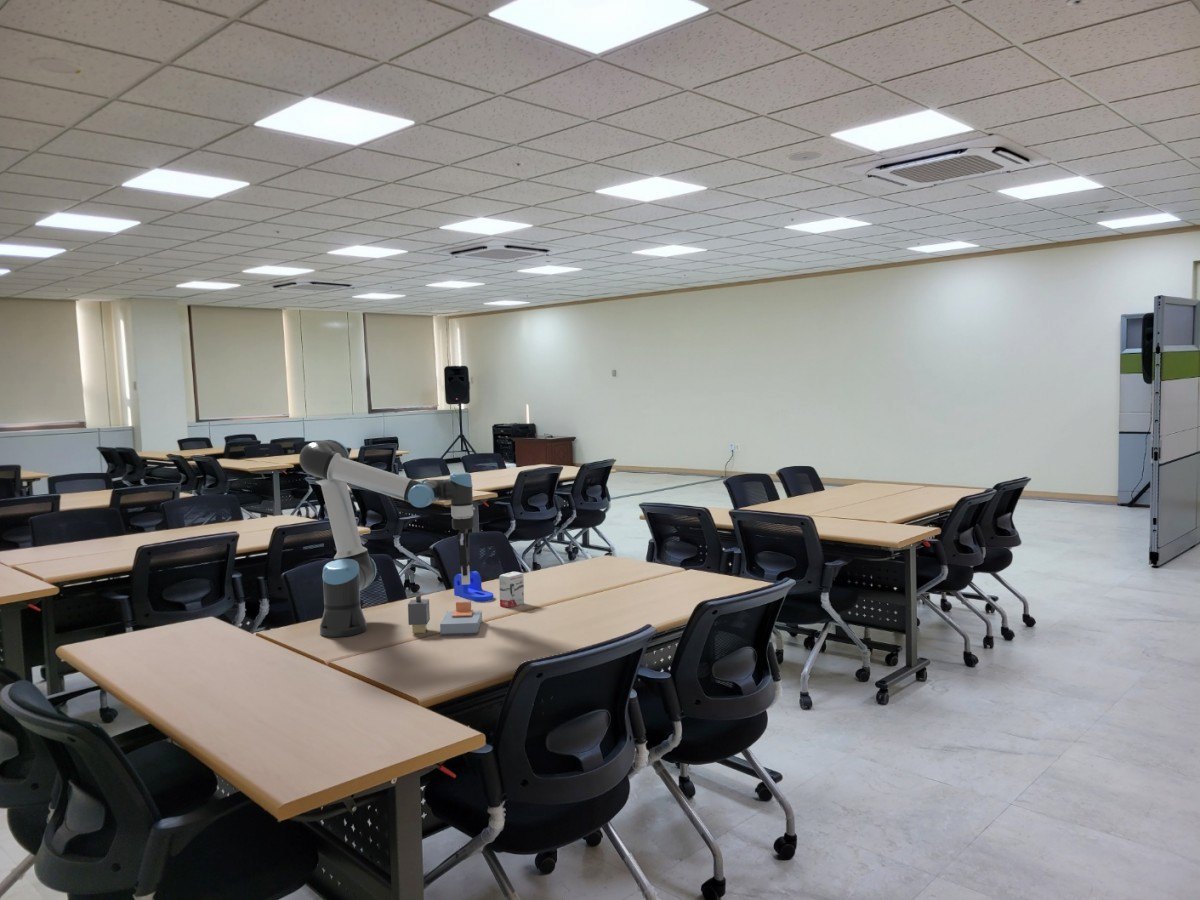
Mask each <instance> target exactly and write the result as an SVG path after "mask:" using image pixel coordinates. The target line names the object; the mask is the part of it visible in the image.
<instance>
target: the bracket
mask: <svg viewBox="0 0 1200 900" xmlns="http://www.w3.org/2000/svg"><path fill="white" fill-rule="evenodd" d="M469 572H470V584H466V585H462V578H461V573H457V574H455V575H454V578H453V589H454V590H453V594H454V596H456V597H458V596H459V598H462V599H465V600H469V601H471V602H474V603H475V602H476V603H484V602H486V601H487V602H491V601H493V600H494V599H495V598H494V593H493V592H491V591H488V590H484V589H483V586H482V577H481V574H480V573H479V572H478V571H477V570H474V571H469Z"/></svg>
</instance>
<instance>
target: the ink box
mask: <svg viewBox="0 0 1200 900" xmlns="http://www.w3.org/2000/svg"><path fill="white" fill-rule="evenodd" d="M498 577H499V578H498V580H499V583H498V584H499V606H500V607H503V608H508V609H509V608H513V607H517V606H520V605H523V604H525V590H524V589H525V586H524V573H523V572H519V571H511V572H506V573H503V574H500V575H499V576H498Z"/></svg>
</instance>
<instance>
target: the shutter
mask: <svg viewBox="0 0 1200 900" xmlns="http://www.w3.org/2000/svg"><path fill="white" fill-rule="evenodd" d="M453 611H454V612H453V614H452V617H459V616H472V613H473V611H474V609H472V601H471V600H469V601H466V600H465V601H455V610H453Z"/></svg>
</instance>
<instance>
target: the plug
mask: <svg viewBox="0 0 1200 900" xmlns="http://www.w3.org/2000/svg"><path fill="white" fill-rule="evenodd" d="M407 613H408V614H407V616H408V617H407V618H408V626H411V627H412V634H420V633H421V634H422V633H426V631H427V628H428V627H427V625H428V623H429V622H430V620H431V617H430V616H431V615H430V599H428V598H427V599H426V598H425V599H422V595H420V594H419V595H415V599H410V601H409V602H408V603H407Z"/></svg>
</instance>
